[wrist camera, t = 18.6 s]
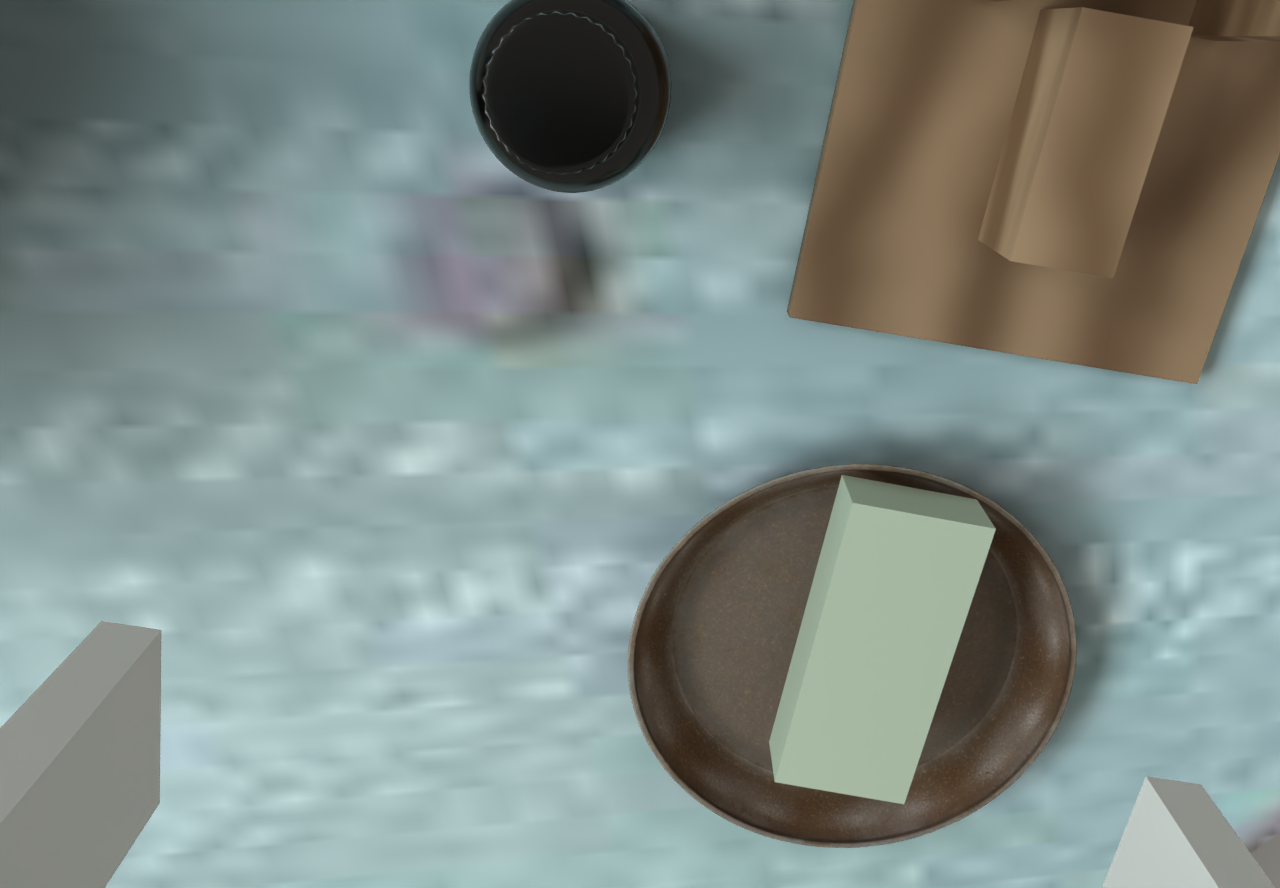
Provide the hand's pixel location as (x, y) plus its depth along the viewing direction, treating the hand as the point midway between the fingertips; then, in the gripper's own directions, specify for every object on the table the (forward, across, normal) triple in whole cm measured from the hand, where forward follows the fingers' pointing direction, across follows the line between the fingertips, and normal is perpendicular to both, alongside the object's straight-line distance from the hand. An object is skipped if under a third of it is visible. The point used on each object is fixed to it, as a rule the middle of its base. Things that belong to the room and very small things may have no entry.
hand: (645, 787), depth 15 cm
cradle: (+35, -15, -12) cm, 40 cm away
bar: (+32, -12, +14) cm, 37 cm away
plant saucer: (+35, -12, +17) cm, 41 cm away
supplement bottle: (+35, +4, -7) cm, 36 cm away
